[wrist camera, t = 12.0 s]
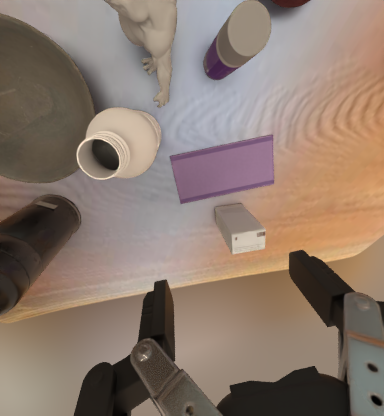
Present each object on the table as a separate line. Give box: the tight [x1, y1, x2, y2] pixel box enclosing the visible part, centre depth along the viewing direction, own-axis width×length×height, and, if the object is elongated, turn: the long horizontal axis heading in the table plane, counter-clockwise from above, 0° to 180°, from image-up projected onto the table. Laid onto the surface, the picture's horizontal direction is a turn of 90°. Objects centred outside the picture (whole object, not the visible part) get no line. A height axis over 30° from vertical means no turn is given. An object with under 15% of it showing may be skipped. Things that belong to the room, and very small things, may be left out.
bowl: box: [0, 14, 96, 183], centre depth 30 cm, size 19×19×10 cm
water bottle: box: [77, 107, 161, 180], centre depth 26 cm, size 7×7×25 cm
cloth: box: [170, 135, 274, 204], centre depth 41 cm, size 20×10×1 cm, turn 101°
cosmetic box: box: [215, 203, 266, 254], centre depth 40 cm, size 6×4×12 cm
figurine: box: [104, 0, 177, 107], centre depth 24 cm, size 18×7×18 cm, turn 8°
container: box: [203, 0, 271, 80], centre depth 27 cm, size 5×5×15 cm
